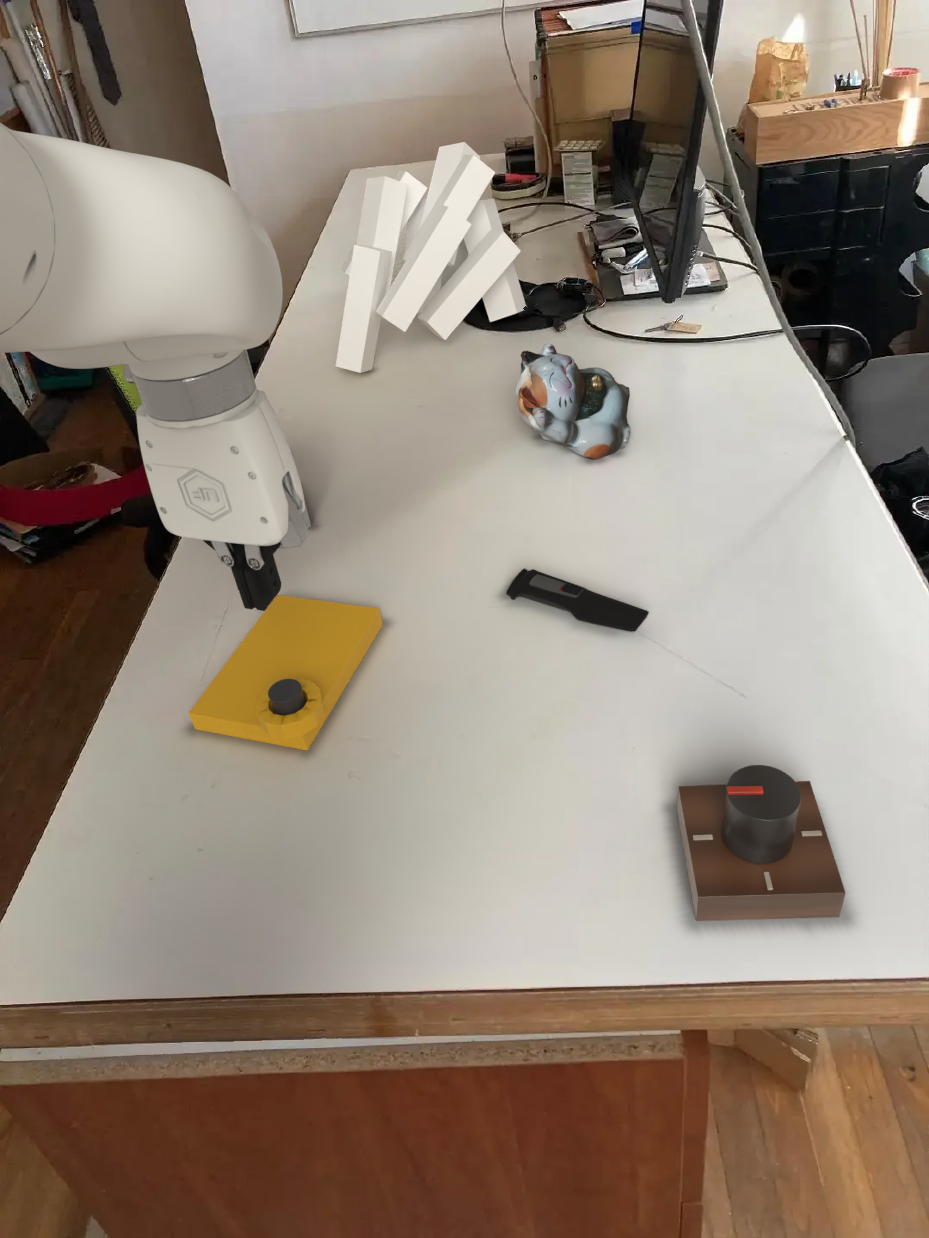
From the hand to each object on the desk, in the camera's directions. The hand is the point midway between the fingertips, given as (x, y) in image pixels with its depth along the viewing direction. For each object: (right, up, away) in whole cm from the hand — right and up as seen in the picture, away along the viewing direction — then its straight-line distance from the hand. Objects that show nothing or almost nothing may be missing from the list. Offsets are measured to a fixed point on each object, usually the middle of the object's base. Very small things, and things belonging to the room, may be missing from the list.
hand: (263, 598), depth 73 cm
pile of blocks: (+11, +45, +80) cm, 93 cm away
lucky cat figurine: (+31, +22, +48) cm, 61 cm away
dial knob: (+37, -18, -5) cm, 42 cm away
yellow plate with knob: (-1, -7, +19) cm, 20 cm away
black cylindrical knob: (0, -9, +10) cm, 14 cm away
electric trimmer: (+27, -1, +22) cm, 35 cm away
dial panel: (+38, -20, -3) cm, 43 cm away
